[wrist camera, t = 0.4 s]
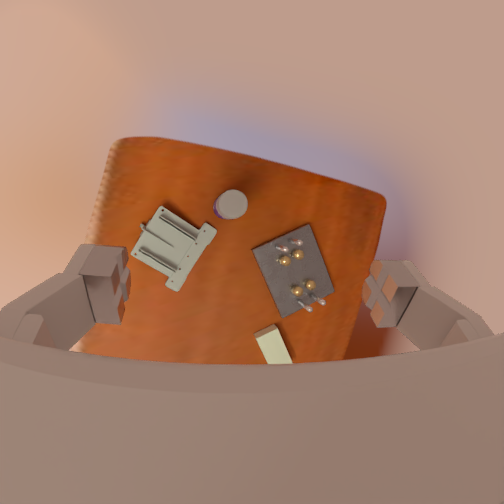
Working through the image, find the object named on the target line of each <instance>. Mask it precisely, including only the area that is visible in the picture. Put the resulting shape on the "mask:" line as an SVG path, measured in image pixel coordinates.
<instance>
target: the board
mask: <svg viewBox="0 0 504 504" xmlns="http://www.w3.org/2000/svg"><path fill="white" fill-rule="evenodd" d="M254 336H255V338H256V340H257V342H258V344H259V346H260V349H261V351H262V353H263V355H264V357H265V359H266V361H267V363H268V364H291V363H292V360H291V358H290V356H289V353H288V351H287V349H286V347H285V344H284V342H283V340H282V337H281V335H280V333H279V330H278V328H277V327H276V326H275V324H273V325H271V326H269V327H267V328H265V329H263V330H260V331H258V332H256V333H254Z"/></svg>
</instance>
